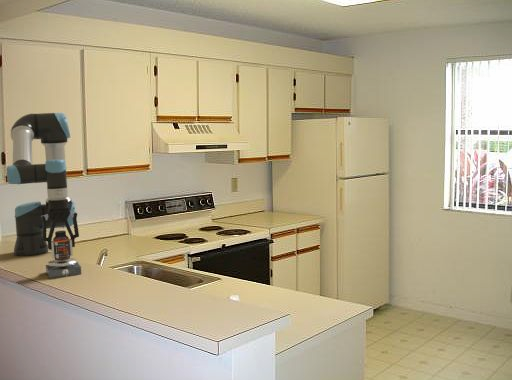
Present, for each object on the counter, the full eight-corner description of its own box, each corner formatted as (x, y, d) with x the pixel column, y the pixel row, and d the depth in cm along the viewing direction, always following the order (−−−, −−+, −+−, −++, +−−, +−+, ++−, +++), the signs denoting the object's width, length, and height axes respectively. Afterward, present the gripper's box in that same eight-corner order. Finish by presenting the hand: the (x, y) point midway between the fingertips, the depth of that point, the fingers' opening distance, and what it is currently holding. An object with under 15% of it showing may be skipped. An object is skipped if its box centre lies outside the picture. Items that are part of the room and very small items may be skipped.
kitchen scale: (46, 272, 232) (45, 260, 231) (77, 268, 237) (76, 256, 237) (49, 278, 222) (48, 266, 221) (81, 274, 227) (80, 262, 226)
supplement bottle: (58, 261, 225) (55, 233, 223) (52, 259, 229) (49, 231, 228) (73, 258, 229) (70, 230, 227) (66, 256, 233) (64, 229, 232)
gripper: (32, 202, 219) (37, 261, 221) (84, 197, 227) (88, 255, 230) (31, 200, 225) (35, 257, 228) (81, 195, 234) (85, 251, 236)
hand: (62, 256), depth 229 cm, fingers open, 6 cm apart
